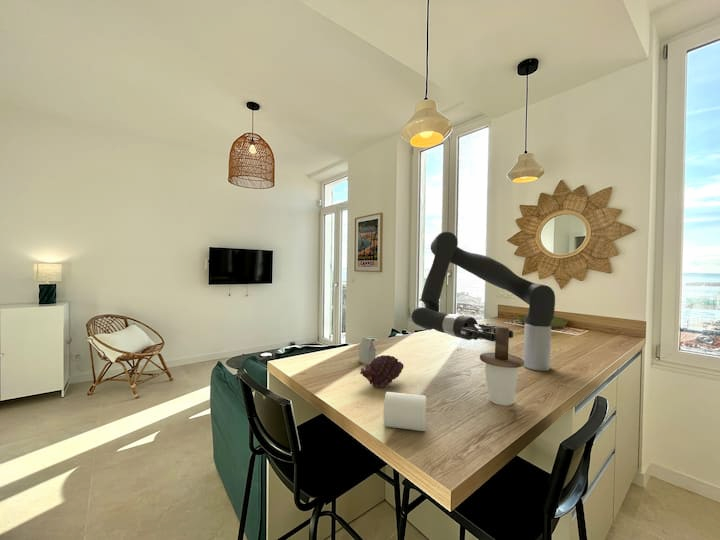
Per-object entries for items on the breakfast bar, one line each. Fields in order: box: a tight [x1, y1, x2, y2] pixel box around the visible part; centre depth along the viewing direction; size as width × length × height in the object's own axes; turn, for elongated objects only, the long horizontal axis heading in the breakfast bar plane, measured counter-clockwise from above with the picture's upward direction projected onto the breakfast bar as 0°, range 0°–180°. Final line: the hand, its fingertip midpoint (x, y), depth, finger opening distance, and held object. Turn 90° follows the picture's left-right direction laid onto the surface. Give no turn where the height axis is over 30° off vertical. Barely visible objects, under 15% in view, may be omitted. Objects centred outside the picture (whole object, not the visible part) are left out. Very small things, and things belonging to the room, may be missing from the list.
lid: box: [479, 325, 525, 369], centre depth 93 cm, size 12×12×10 cm
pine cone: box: [359, 354, 405, 388], centre depth 103 cm, size 18×10×10 cm, turn 126°
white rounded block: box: [382, 391, 427, 432], centre depth 79 cm, size 12×10×8 cm
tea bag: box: [358, 336, 377, 366], centre depth 126 cm, size 4×7×10 cm, turn 30°
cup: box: [484, 363, 519, 407], centre depth 93 cm, size 9×9×12 cm
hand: (504, 336), depth 92 cm, fingers open, 8 cm apart
